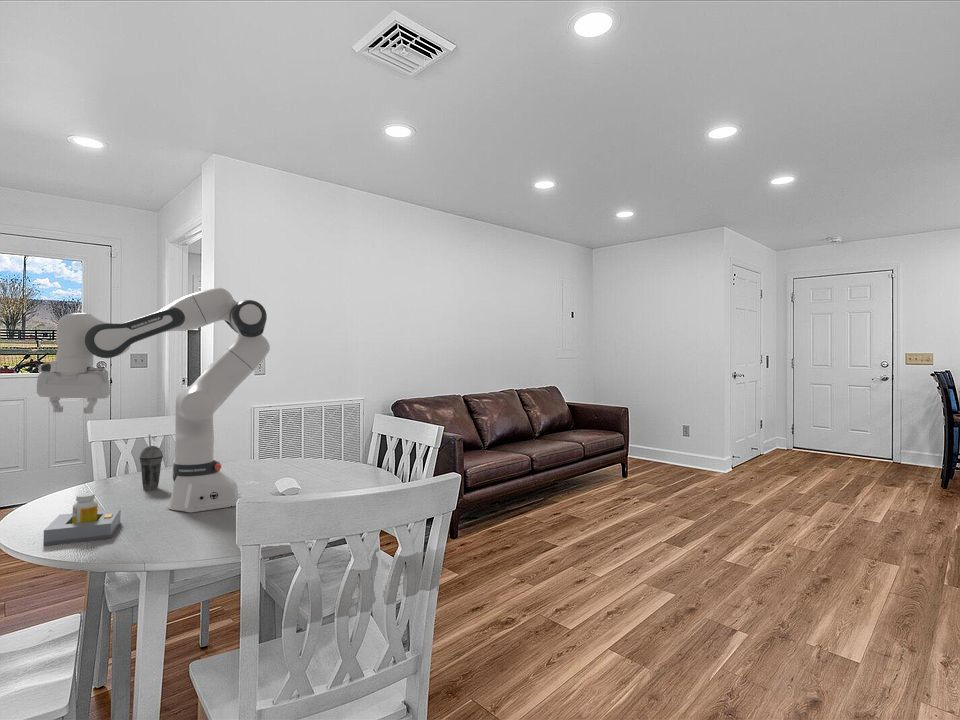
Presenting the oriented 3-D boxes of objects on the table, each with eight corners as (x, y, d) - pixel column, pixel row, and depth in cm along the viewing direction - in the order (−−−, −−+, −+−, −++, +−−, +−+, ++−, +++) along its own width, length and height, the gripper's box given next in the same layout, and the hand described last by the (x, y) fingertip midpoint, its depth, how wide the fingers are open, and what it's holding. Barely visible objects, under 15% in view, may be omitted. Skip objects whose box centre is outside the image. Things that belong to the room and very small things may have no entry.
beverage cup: (167, 486, 188) (168, 433, 188) (152, 491, 180) (153, 435, 180) (148, 485, 188) (150, 432, 188) (133, 490, 181) (134, 435, 181)
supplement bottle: (67, 533, 135) (67, 497, 135) (80, 526, 140) (81, 492, 140) (88, 533, 136) (89, 497, 135) (101, 526, 141) (102, 492, 141)
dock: (120, 522, 147) (120, 507, 147) (110, 538, 135) (110, 522, 135) (59, 528, 141) (59, 513, 141) (43, 545, 128) (43, 529, 128)
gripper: (116, 367, 154) (114, 412, 154) (52, 365, 155) (50, 410, 155) (99, 367, 148) (98, 415, 148) (32, 365, 149) (31, 412, 149)
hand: (73, 412), depth 151 cm, fingers open, 8 cm apart
